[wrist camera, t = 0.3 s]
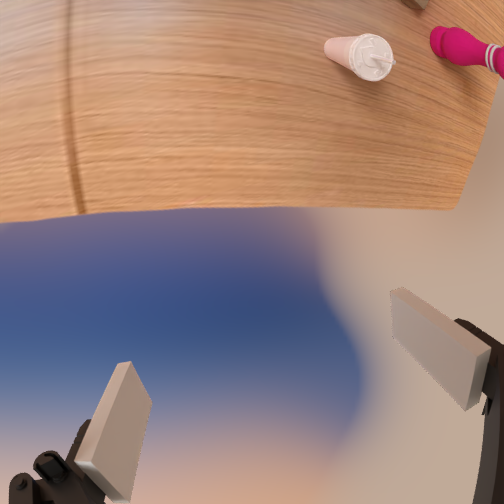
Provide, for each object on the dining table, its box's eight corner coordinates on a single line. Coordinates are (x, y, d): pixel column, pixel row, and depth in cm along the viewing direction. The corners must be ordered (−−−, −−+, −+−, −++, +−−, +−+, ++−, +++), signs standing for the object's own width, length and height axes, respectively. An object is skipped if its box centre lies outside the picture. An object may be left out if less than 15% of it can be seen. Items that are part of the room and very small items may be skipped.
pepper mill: (457, 44, 38) (543, 78, 24) (439, 66, 41) (527, 104, 27) (440, 16, 34) (533, 42, 20) (422, 38, 37) (517, 69, 23)
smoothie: (327, 21, 34) (389, 27, 23) (359, 42, 37) (424, 58, 26) (308, 56, 37) (365, 73, 27) (342, 75, 40) (402, 100, 30)
